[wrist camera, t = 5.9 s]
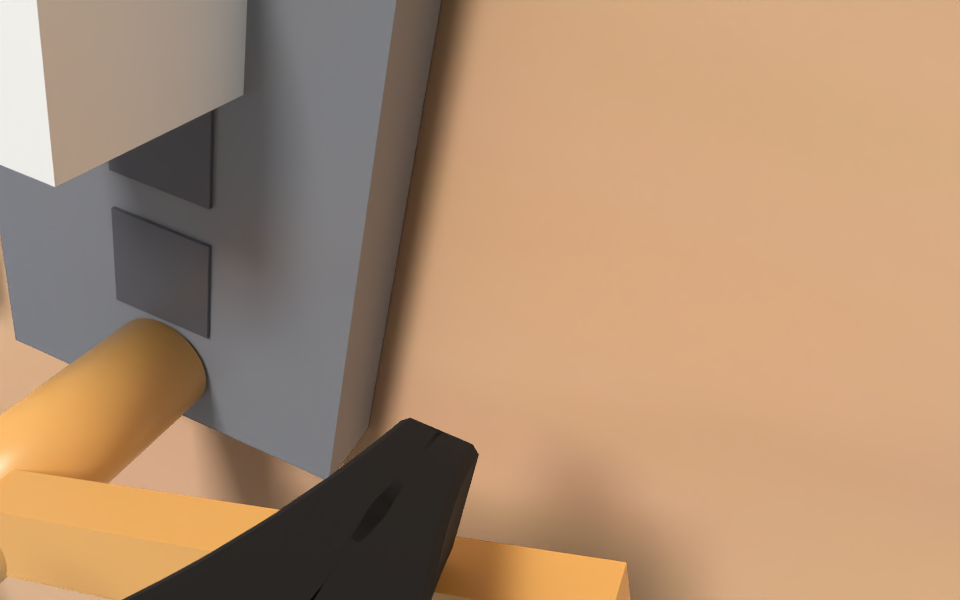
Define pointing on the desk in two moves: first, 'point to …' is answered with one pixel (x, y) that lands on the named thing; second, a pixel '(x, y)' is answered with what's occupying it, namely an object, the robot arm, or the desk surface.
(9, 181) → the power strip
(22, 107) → the plug
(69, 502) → the clip
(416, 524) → the robot arm
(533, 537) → the desk surface
